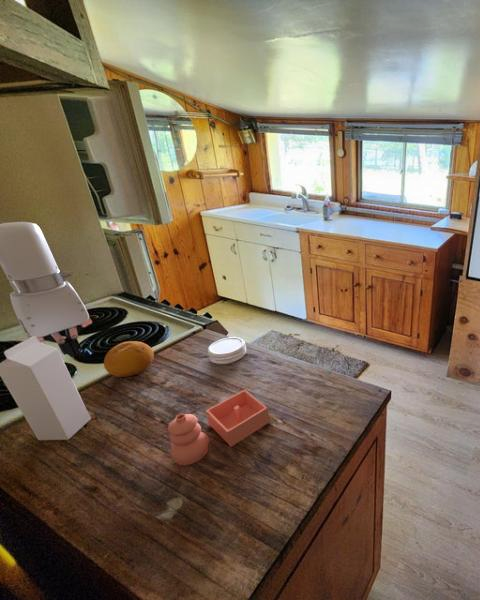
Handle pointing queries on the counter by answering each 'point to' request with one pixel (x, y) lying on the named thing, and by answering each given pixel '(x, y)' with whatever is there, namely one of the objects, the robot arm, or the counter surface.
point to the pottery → (216, 426)
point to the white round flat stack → (227, 350)
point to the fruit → (128, 358)
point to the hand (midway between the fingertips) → (73, 354)
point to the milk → (43, 390)
